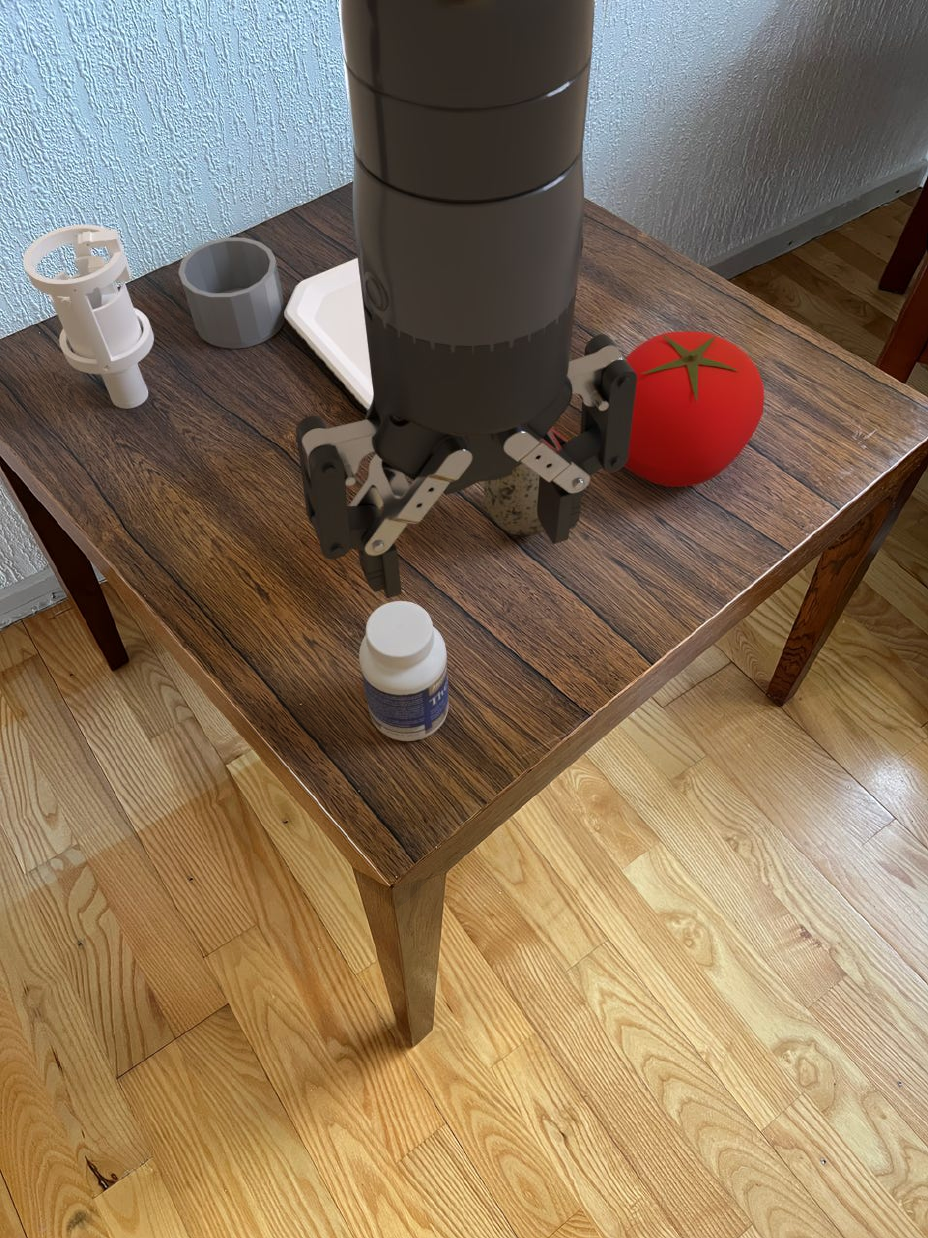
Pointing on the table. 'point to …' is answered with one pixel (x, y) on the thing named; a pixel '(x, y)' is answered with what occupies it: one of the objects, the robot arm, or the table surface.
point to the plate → (335, 325)
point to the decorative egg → (515, 501)
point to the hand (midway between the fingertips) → (470, 556)
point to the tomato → (691, 407)
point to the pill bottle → (404, 671)
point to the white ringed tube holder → (96, 310)
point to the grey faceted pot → (233, 292)
